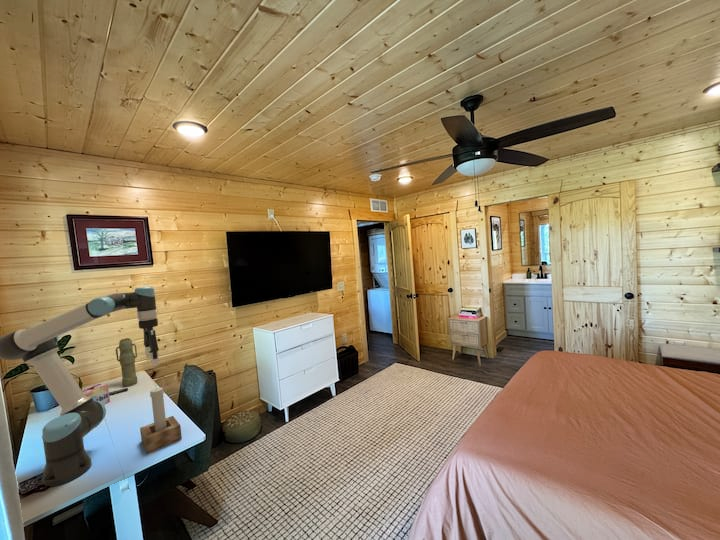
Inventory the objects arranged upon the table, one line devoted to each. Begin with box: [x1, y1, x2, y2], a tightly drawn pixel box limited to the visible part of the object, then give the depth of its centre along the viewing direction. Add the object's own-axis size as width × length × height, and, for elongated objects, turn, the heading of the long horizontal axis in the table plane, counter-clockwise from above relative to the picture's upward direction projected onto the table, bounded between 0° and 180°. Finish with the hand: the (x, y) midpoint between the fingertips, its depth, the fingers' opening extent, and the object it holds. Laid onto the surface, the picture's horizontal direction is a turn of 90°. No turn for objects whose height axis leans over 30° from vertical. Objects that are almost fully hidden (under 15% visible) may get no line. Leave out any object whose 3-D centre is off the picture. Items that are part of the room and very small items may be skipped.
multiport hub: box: [109, 387, 129, 397], centre depth 210 cm, size 4×11×2 cm, turn 127°
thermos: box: [115, 337, 138, 388], centre depth 221 cm, size 9×12×35 cm
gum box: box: [82, 383, 111, 406], centre depth 186 cm, size 22×7×13 cm, turn 173°
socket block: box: [139, 415, 183, 454], centre depth 148 cm, size 14×14×7 cm
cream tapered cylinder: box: [149, 377, 167, 432], centre depth 147 cm, size 6×6×30 cm
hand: (152, 362), depth 146 cm, fingers open, 13 cm apart
